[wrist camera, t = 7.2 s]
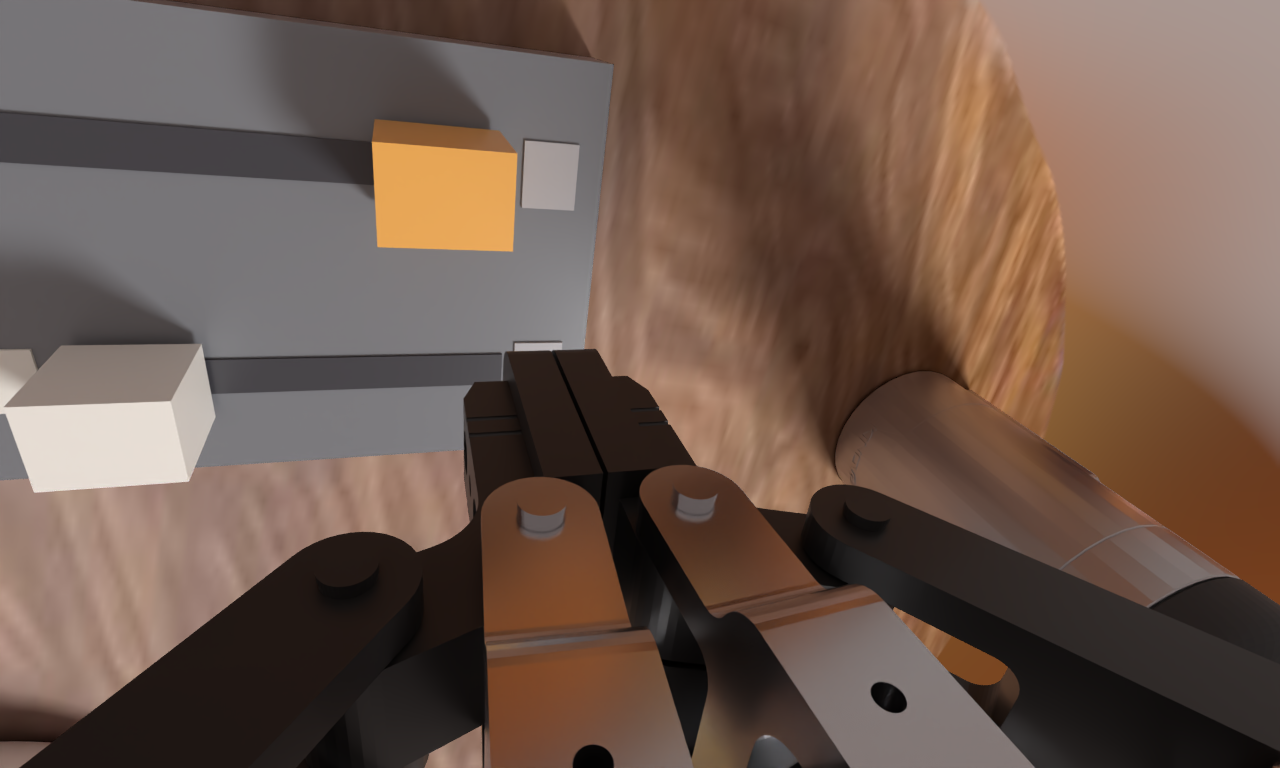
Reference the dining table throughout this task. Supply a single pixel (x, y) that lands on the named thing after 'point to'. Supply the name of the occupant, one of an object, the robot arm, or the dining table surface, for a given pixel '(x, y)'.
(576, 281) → the switch panel
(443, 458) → the dining table surface
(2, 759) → the bowl
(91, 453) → the on slider
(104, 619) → the dining table surface
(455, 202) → the slider
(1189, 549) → the robot arm
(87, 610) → the dining table surface
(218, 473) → the dining table surface
